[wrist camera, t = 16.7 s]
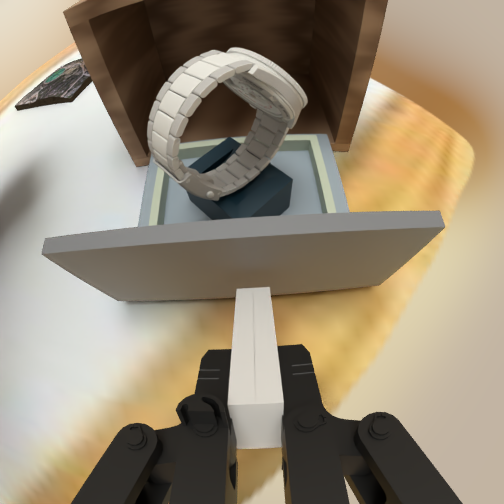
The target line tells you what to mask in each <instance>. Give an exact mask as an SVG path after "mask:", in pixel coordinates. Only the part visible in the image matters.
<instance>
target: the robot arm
mask: <svg viewBox="0 0 504 504" xmlns="http://www.w3.org/2000/svg"><path fill="white" fill-rule="evenodd" d="M176 412H177V414H178V416H179V419H180V421H181V424H179V425H177V426H174V427H171V428H165V429H160V430H153V429H152V428H151V427H149V426H148V425H146V424H141V423H134V424H129V425H127V426H125V427H123V428H122V429H121V430H120V431H119V432H118V434H117V435H116V436H115V438H114V439H113V441H112V442H111V444H110V445H109V447H108V448H107V450H106V451H105V453H104V454H103V456H102V457H101V459H100V460H99V462H98V463H97V465H96V466H95V468H94V469H93V471H92V472H91V474H90V475H89V477H88V478H87V480H86V481H85V483H84V484H83V486H82V487H81V489H80V491H79V492H78V494H77V495H76V497H75V498H74V500H73V501H72V503H71V504H168V503H169V504H237V476H238V462H237V458H236V449H260V448H277V447H282V454H283V457H282V470H283V477H284V490H285V503H286V504H349V499H348V494H347V489H346V485H345V480H344V477H345V479H346V480H347V482H348V484H349V486H350V488H351V489H352V491H353V493H354V495H355V496H356V498H357V500H358V502H359V503H360V504H462V502H461V501H460V500H459V498H458V497H457V496H456V494H455V493H454V492H453V490H452V489H451V488H450V486H449V485H448V484H447V482H446V481H445V480H444V479H443V477H442V476H441V475H440V474H439V472H438V471H437V470H436V468H435V467H434V465H433V464H432V463H431V462H430V460H429V459H428V458H427V457H426V455H425V454H424V452H423V451H422V450H421V449H420V447H419V446H418V445H417V443H416V442H415V441H414V439H413V438H412V437H411V436H410V434H409V433H408V432H407V431H406V429H405V428H404V427H403V425H402V424H401V423H400V421H399V420H398V419H397V418H395V417H394V416H393V415H391V414H388V413H386V412H375V413H372V414H369V415H367V416H366V417H364V418H363V419H362V420H361V421H357V420H346V419H340V418H337V417H335V416H332V415H331V414H330V413H328V412H327V411H326V409H325V408H324V406H323V404H322V400H321V396H320V392H319V388H318V384H317V380H316V376H315V373H314V368H313V365H312V360H311V356H310V352H309V351H308V350H307V349H306V348H305V347H304V346H303V345H302V344H299V345H287V346H277V341H276V333H275V325H274V317H273V309H272V302H271V294H270V287H260V288H242V289H237V291H236V303H235V315H234V327H233V339H232V349H223V350H208V351H207V352H206V354H205V355H204V356H203V358H202V359H201V364H200V371H199V374H198V380H197V384H196V390H195V394H193V395H191V396H188V397H186V398H184V399H183V400H182V401H181V402H180V403H179V404H178V406H177V408H176Z"/></svg>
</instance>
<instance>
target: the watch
mask: <svg viewBox="0 0 504 504" xmlns="http://www.w3.org/2000/svg"><path fill="white" fill-rule="evenodd" d="M169 82H170V83H169ZM217 82H218V83H222V82H223V83H224V84H225V85H226V86H227V87H228V88H229V89H230V90H232V91H233V92H234V93H235V94H236V95H238V96H239V97H240V98H242V99H243V100H245V101H246V102H248V103H249V104H250V106H251V107H252V108H254V109H256V108H257V113H256V117H257V118H255V120H254V122H253V125H252V127H251V130H252V131H250V132H249V133H248V135H247V137H246V138H245V140H244V142H245V143H246V144H245V143H242V144H240V143H239V142H237V141H236V140H234V139H233V138H231V137H228V138H227V139H225V140H224V141H222V142H221V143H220V144H218V145H217V146H215V147H214V148H213V149H211V150H210V151H209V152H207V153H206V154H204V155H203V156H202V157H200V158H199V159H198V160H196V161H195V162H194V163H192V164H191V165H190V166H189V167H186V166H184V164H183V162H182V161H181V160H180V159H179V158H178V157H177V155H178V153H179V145H180V138H178V137H180V136H182V134H183V132H184V129H185V127H186V125H187V123H188V118H187V117H190V116H192V114H193V113H194V111H195V110H196V108H197V107H198V106H199V104H200V103H201V98H204V97H206V96H207V95H208V94H209V93H210V92H211V91H212V90H213V89H214V88H215V87H216V86H217V84H218V83H217ZM171 83H172V84H171ZM174 92H175V93H174ZM176 93H177V94H176ZM178 94H179V95H178ZM180 95H181V96H180ZM196 95H197V96H196ZM182 96H183V97H182ZM198 96H199V97H198ZM184 97H185V98H184ZM200 97H201V98H200ZM186 98H187V99H186ZM157 100H158V101H157ZM307 102H308V101H307V97H306V95H305V93H304V91H303V90H302V88H301V87H300V86H299V84H298V83H297V82H296V81H295V80H294V79H293V78H292V77H291V76H290V75H289V74H288V73H287V72H285V71H284V70H283V69H282V68H280V67H279V66H278V65H276V64H275V63H273V62H272V61H270V60H268V59H267V58H265V57H263V56H261V55H259V54H257V53H255V52H252V51H250V50H246V49H243V48H230V49H229V50H228V51H227V52H226V53H224V52H221V51H217V50H211V51H209V52H206V53H203V54H201V55H200V56H196V57H194V58H192V59H191V60H189V61H188V62H186V63H185V64H184V65H183V67H182V66H181V67H179V68H178V69H177V70H176V71H175V72H174V73H173V74H172V75H171V76H170V78H169V79H168V82H165V84H164V85H163V87H162V88H161V90H160V91H159V93H158V95H157V97H156V101H155V102H154V104H153V107H152V109H151V113H150V116H149V119H150V120H149V121H148V128H147V137H148V146H149V149H150V151H151V154H152V156H153V157H154V159H153V162H154V163H155V164H156V165H157V166H158V167H159V168H161V169H162V170H163V171H164V172H165V173H166V174H168V175H169V176H170V177H171V178H172V179H173V180H174V181H176V182H177V183H178V184H179V185H180V186H181V187H182V188H184V189H185V190H186V191H187V194H188V196H189V199H190V201H191V202H192V203H194V204H195V205H196V206H197V207H198V208H199V209H200V210H201V211H203V212H204V213H205V214H206V215H207V216H208V217H209V218H210V219H212V220H222V219H235V218H250V217H265V216H280V215H281V214H282V213H283V212H284V211H286V210H287V209H288V208H289V205H290V198H291V191H292V183H293V179H292V178H291V177H289V176H288V175H286V174H285V173H284V172H282V171H281V170H279V169H278V168H276V167H275V166H274V165H272V164H271V163H270V161H271V160H272V159H273V157H274V156H275V155H276V153H277V152H278V150H279V147H280V146H281V145H282V143H283V141H284V139H285V137H286V134H287V132H288V130H289V128H290V129H292V128H293V127H294V125H295V124H296V122H297V119H298V117H299V114H300V111H301V109H302V108H304V107H305V106H306V104H307ZM167 114H168V115H167ZM185 116H186V117H185ZM172 117H173V118H172ZM263 126H264V127H263ZM265 127H266V128H265ZM270 130H271V131H270ZM253 131H254V132H253ZM255 132H256V133H255ZM275 133H276V134H275ZM256 139H258V140H259V141H258V140H256ZM260 141H261V142H262V143H261V142H260ZM263 143H264V144H265V145H264V144H263ZM247 144H248V145H247ZM274 144H275V145H274ZM266 145H267V146H266ZM276 145H277V146H278V147H277V146H276ZM268 146H269V147H268ZM266 157H267V158H266ZM268 158H269V159H270V160H269V159H268Z"/></svg>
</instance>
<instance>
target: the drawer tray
mask: <svg viewBox="0 0 504 504" xmlns="http://www.w3.org/2000/svg"><path fill="white" fill-rule="evenodd" d="M246 137H247V136H241V137H231V138H233V139H234V140H236V141H237V142H239V143H240V144H242V143H245V142H244V140H245V138H246ZM225 139H227V138H218V139H208V140H200V141H192V142H184V143H180V145H179V153H178V155H177V157H178V158H179V159H180V160H181V161H182V162H183V164H184V166H186V167H189V166H190V165H191V164H192V163H194V162H195V161H196V160H198V159H199V158H200V157H202V156H203V155H204V154H206V153H207V152H209V151H210V150H211V149H213V148H214V147H215V146H217V145H218V144H220V143H221V142H222V141H224V140H225ZM256 140H258V139H256ZM258 141H259V140H258ZM260 142H261V141H260ZM261 143H262V142H261ZM245 144H246V143H245ZM263 144H264V143H263ZM247 145H248V144H247ZM264 145H265V144H264ZM274 145H275V144H274ZM266 146H267V145H266ZM276 146H277V145H276ZM268 147H269V146H268ZM277 147H278V146H277ZM266 158H267V157H266ZM153 159H154V157H153V156H152V154H151V158H150V163H149V167H148V172H147V177H146V182H145V187H144V193H143V199H142V204H141V210H140V217H139V223H138V227H134V228H124V229H115V230H107V231H98V232H90V233H82V234H74V235H66V236H59V237H52V238H45V241H44V245H43V250H42V255H44V256H45V257H47V258H48V259H50V260H51V261H53V262H54V263H56V264H57V265H59V266H60V267H62V268H63V269H65V270H66V271H68V272H70V273H71V274H73V275H74V276H76V277H78V278H79V279H81V280H83V281H84V282H86V283H88V284H89V285H91V286H93V287H94V288H96V289H98V290H100V291H101V292H103V293H105V294H107V295H108V296H110V297H112V298H114V299H116V300H117V301H156V300H191V299H215V298H235V297H236V291H237V289H242V288H260V287H270V294H271V295H282V294H295V293H307V292H318V291H329V290H340V289H349V288H359V287H368V286H377V285H380V284H382V283H383V282H384V281H385V280H386V279H388V278H389V277H390V276H391V275H392V274H394V273H395V272H396V271H397V270H398V269H400V268H401V267H402V266H403V265H404V264H405V263H407V262H408V261H409V260H410V259H411V258H412V257H413V256H415V255H416V254H417V253H418V252H419V251H420V250H421V249H422V248H423V247H425V246H426V245H427V244H428V243H429V242H430V241H431V240H432V239H433V238H434V237H435V236H436V235H437V234H438V233H440V232H441V231H442V230H443V229H444V228H445V225H444V222H443V219H442V216H441V213H440V211H383V212H349V208H348V204H347V200H346V196H345V193H344V189H343V185H342V182H341V178H340V175H339V171H338V168H337V164H336V161H335V158H334V154H333V151H332V148H331V145H330V142H329V139H328V136H327V134H286V137H285V139H284V141H283V143H282V145H281V146H280V147H279V150H278V152H277V153H276V155H275V156H274V157H273V159H272V160H271V161H270V163H271V164H272V165H274V166H275V167H276V168H278V169H279V170H281V171H282V172H284V173H285V174H286V175H288V176H289V177H291V178H292V179H293V183H292V191H291V198H290V205H289V208H288V209H287V210H286V211H284V212H283V213H282V214H281V215H280V216H265V217H250V218H235V219H222V220H212V219H210V218H209V217H208V216H207V215H206V214H205V213H204V212H203V211H201V210H200V209H199V208H198V207H197V206H196V205H195V204H194V203H192V202H191V201H190V199H189V196H188V194H187V191H186V190H185V189H184V188H182V187H181V186H180V185H179V184H178V183H177V182H176V181H174V180H173V179H172V178H171V177H170V176H169V175H168V174H166V173H165V172H164V171H163V170H162V169H161V168H159V167H158V166H157V165H156V164H155V163H154V162H153ZM268 159H269V158H268ZM269 160H270V159H269Z"/></svg>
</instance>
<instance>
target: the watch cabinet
mask: <svg viewBox="0 0 504 504" xmlns="http://www.w3.org/2000/svg"><path fill="white" fill-rule="evenodd" d="M387 2H388V0H80V1H79V2H77V3H75V4H74V5H72V6H71V7H69V8H68V9H66V10H65V11H64V12H63V13H64V15H65V18H66V21H67V23H68V26H69V28H70V31H71V33H72V35H73V38H74V40H75V43H76V45H77V47H78V50H79V52H80V54H81V57H82V59H83V61H84V63H85V66H86V68H87V70H88V72H89V74H90V76H91V79H92V81H93V83H94V85H95V87H96V89H97V91H98V93H99V95H100V98H101V100H102V102H103V104H104V106H105V108H106V110H107V112H108V114H109V116H110V118H111V120H112V122H113V124H114V126H115V128H116V129H117V131H118V133H119V135H120V137H121V139H122V141H123V143H124V145H125V147H126V149H127V150H128V152H129V154H130V156H131V158H132V160H133V162H134V163H135V165H136V167H139V166H145V165H149V163H150V158H151V151H150V149H149V146H148V137H147V128H148V121H149V120H150V119H149V116H150V113H151V109H152V107H153V104H154V102H155V101H156V97H157V95H158V93H159V91H160V90H161V88H162V87H163V85H164V84H165V82H168V79H169V78H170V76H171V75H172V74H173V73H174V72H175V71H176V70H177V69H178V68H179V67H181V66H182V67H183V65H184V64H185V63H186V62H188V61H189V60H191V59H192V58H194V57H196V56H200V55H201V54H203V53H206V52H209V51H211V50H217V51H221V52H224V53H226V52H227V51H228V50H229V49H230V48H243V49H246V50H250V51H252V52H255V53H257V54H259V55H261V56H263V57H265V58H267V59H268V60H270V61H272V62H273V63H275V64H276V65H278V66H279V67H280V68H282V69H283V70H284V71H285V72H287V73H288V74H289V75H290V76H291V77H292V78H293V79H294V80H295V81H296V82H297V83H298V84H299V86H300V87H301V88H302V90H303V91H304V93H305V95H306V97H307V101H308V102H307V104H306V106H305V107H304V108H302V109H301V111H300V114H299V117H298V119H297V122H296V124H295V125H294V127H293V128H292V129H290V128H289V130H288V132H287V134H327V136H328V139H329V142H330V145H331V148H332V151H348V150H349V147H350V144H351V140H352V137H353V134H354V131H355V127H356V124H357V121H358V118H359V114H360V111H361V107H362V104H363V100H364V97H365V93H366V90H367V86H368V83H369V79H370V75H371V71H372V67H373V64H374V60H375V56H376V52H377V48H378V43H379V39H380V35H381V31H382V26H383V21H384V17H385V12H386V7H387ZM169 83H170V82H169ZM217 83H218V82H217ZM171 84H172V83H171ZM174 93H175V92H174ZM176 94H177V93H176ZM178 95H179V94H178ZM180 96H181V95H180ZM196 96H197V95H196ZM182 97H183V96H182ZM198 97H199V96H198ZM184 98H185V97H184ZM200 98H201V97H200ZM186 99H187V98H186ZM157 101H158V100H157ZM256 113H257V108H256V109H254V108H252V107H251V106H250V104H249V103H248V102H246V101H245V100H243V99H242V98H240V97H239V96H238V95H236V94H235V93H234V92H233V91H232V90H230V89H229V88H228V87H227V86H226V85H225V84H224V83H223V82H222V83H218V84H217V86H216V87H215V88H214V89H213V90H212V91H211V92H210V93H209V94H208V95H207V96H206V97H204V98H201V103H200V104H199V106H198V107H197V108H196V110H195V111H194V113H193V114H192V116H190V117H187V118H188V123H187V125H186V127H185V129H184V132H183V134H182V136H180V137H178V138H180V143H184V142H192V141H200V140H208V139H218V138H228V137H241V136H247V135H248V133H249V132H250V131H252V130H251V127H252V125H253V122H254V120H255V118H257V117H256ZM167 115H168V114H167ZM185 117H186V116H185ZM172 118H173V117H172ZM263 127H264V126H263ZM265 128H266V127H265ZM270 131H271V130H270ZM253 132H254V131H253ZM255 133H256V132H255ZM275 134H276V133H275Z"/></svg>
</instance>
